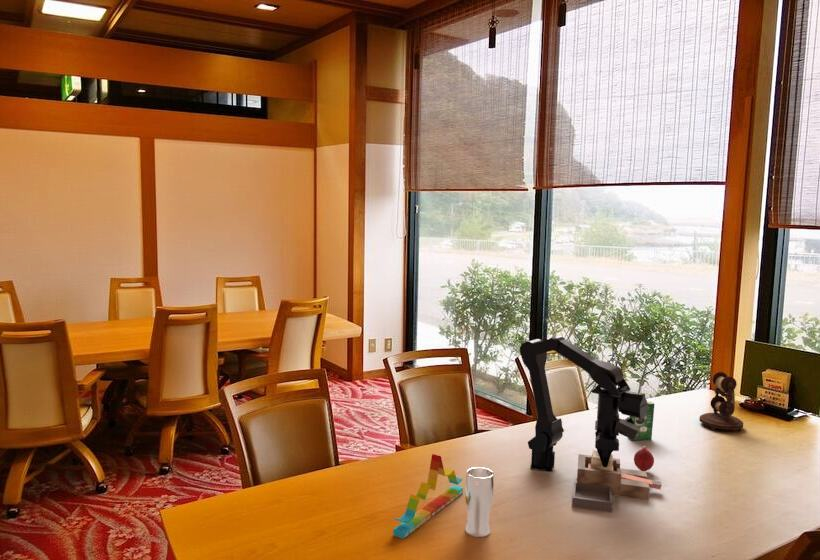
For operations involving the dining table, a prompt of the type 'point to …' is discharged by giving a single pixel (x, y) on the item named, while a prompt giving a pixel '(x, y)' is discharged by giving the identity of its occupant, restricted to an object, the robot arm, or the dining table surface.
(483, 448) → the dining table surface
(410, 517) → the chart
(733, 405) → the brown roll holder stand
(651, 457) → the onion
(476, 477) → the beer glass
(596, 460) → the block
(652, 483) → the lever
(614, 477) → the brown wooden lever base
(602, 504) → the tray
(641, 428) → the coffee box
